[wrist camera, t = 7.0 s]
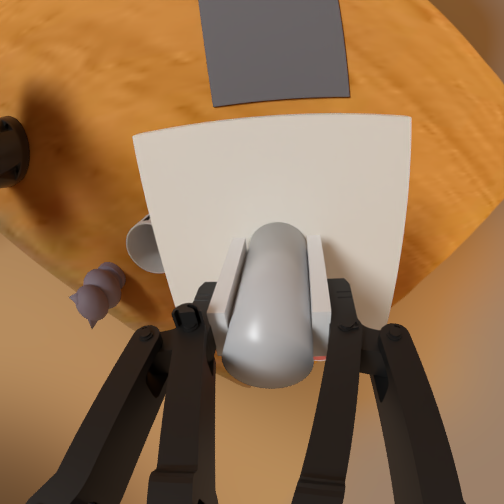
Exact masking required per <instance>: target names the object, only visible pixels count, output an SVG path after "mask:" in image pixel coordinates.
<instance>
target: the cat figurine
mask: <svg viewBox="0 0 504 504" xmlns="http://www.w3.org/2000/svg"><path fill="white" fill-rule="evenodd" d="M125 281H126V279H125V275H124V273H123V271H122V270H121V269H120V268H119V267H118V266H117V265H115V264H113V263H110V262H104V263H103V264H101V265H100V267H99V268H98V269H93V270H91V271H90V272H88V273H87V275H86V276H85V278H84V286H82V287H80V288H79V289H78V291H77V293H75V294H74V295H72V296H70V297H69V298H70V299H71V300H73V301H74V302H75V304H76V307H77V309H78V311H79V313H80V314H81V315H82V316H83V317H84V318H86V319H88V321H89V323H90V326H91V328H93V327H94V326H95V324H96V323H97V321H98V320H101V319H103V318H104V317H105V316H106V314H107V313H108V309H110V308H113V307H115V306H116V305H117V304H118V303H119V301H120V298H121V288H122V287H123V286H124V284H125Z"/></svg>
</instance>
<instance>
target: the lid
mask: <svg viewBox="0 0 504 504" xmlns="http://www.w3.org/2000/svg"><path fill="white" fill-rule="evenodd" d="M132 137H133V143H134V148H135V153H136V158H137V163H138V167H139V172H140V177H141V181H142V186H143V190H144V194H145V199H146V203H147V207H148V211H149V215H150V219H151V223H152V227H153V231H154V235H155V238H156V242H157V246H158V250H159V253H160V257H161V260H162V264H163V267H164V271H165V274H166V278H167V281H168V284H169V288H170V291H171V294H172V297H173V301H174V304H175V307H177V306H179V305H181V304H184V303H193V301H194V298H195V296H196V293H197V291H198V289H199V287H200V286H201V285H202V284H203V283H204V282H217V281H218V278H219V275H220V272H221V270H222V267H223V264H224V261H225V258H226V255H227V253H228V250H229V247H230V244H231V241H232V239H233V238H246V246H247V256H246V260H245V264H244V268H243V272H242V276H241V280H240V284H239V288H238V292H237V296H236V300H235V304H234V308H233V312H232V316H231V320H230V324H229V328H228V332H227V336H226V340H225V344H224V348H223V353H222V362H223V365H224V367H225V369H226V370H227V371H228V373H230V374H231V375H232V376H233V377H234V378H236V379H237V380H239V381H241V382H243V383H245V384H248V385H251V386H255V387H259V388H269V389H270V388H271V389H275V388H283V387H288V386H291V385H294V384H296V383H298V382H300V381H302V380H303V379H304V378H306V377H307V376H308V375H309V374H310V372H311V370H312V368H313V364H314V359H313V333H312V321H311V301H310V284H309V268H308V254H307V235H320V237H321V243H322V250H323V256H324V262H325V269H326V276H327V279H333V278H345V279H346V280H347V282H348V283H349V284H350V287H351V292H352V296H353V300H354V305H355V309H356V314H357V318H358V319H359V321H360V322H361V324H363V325H364V326H366V327H368V328H371V329H376V330H381V328H382V327H383V326H385V325H387V322H388V318H389V313H390V309H391V304H392V299H393V295H394V290H395V284H396V279H397V273H398V268H399V262H400V256H401V249H402V242H403V235H404V227H405V219H406V210H407V200H408V188H409V175H410V156H411V117H408V116H402V115H385V114H358V113H318V114H289V115H272V116H259V117H247V118H237V119H228V120H219V121H211V122H204V123H197V124H190V125H183V126H177V127H171V128H166V129H160V130H155V131H149V132H144V133H139V134H136V135H134V136H132Z"/></svg>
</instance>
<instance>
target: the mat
mask: <svg viewBox="0 0 504 504" xmlns="http://www.w3.org/2000/svg"><path fill="white" fill-rule="evenodd" d="M198 1H199V8H200V16H201V24H202V31H203V38H204V46H205V53H206V60H207V67H208V74H209V81H210V88H211V95H212V102H213V107H216V106H223V105H231V104H238V103H247V102H256V101H266V100H278V99H291V98H310V97H350V95H349V83H348V72H347V62H346V53H345V45H344V37H343V29H342V23H341V16H340V10H339V3H338V0H198Z"/></svg>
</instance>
